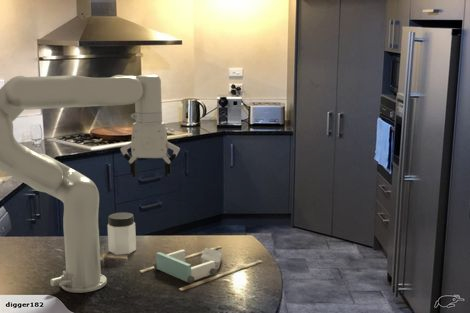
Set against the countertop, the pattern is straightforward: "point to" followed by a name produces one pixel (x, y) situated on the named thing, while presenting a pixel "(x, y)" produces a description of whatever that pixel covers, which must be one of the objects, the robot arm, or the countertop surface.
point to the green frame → (183, 266)
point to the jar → (121, 233)
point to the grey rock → (211, 257)
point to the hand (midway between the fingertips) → (151, 176)
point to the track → (210, 277)
